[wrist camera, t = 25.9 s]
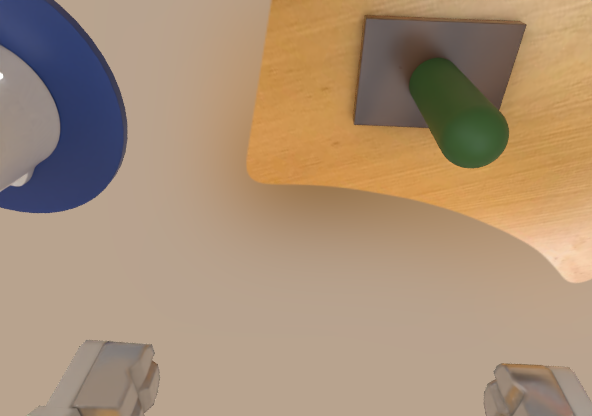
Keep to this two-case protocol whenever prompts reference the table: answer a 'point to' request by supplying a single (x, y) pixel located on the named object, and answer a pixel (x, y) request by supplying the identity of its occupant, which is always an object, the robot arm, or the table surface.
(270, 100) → the table surface
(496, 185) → the table surface
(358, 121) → the board
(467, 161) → the cucumber
